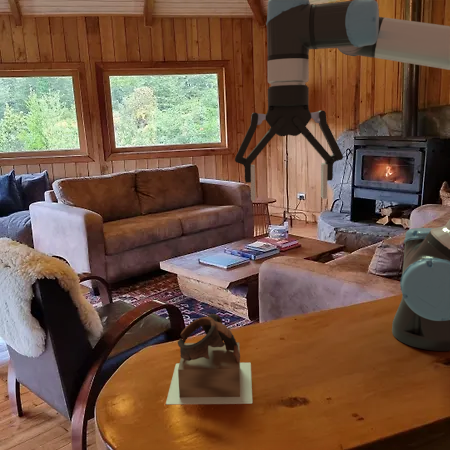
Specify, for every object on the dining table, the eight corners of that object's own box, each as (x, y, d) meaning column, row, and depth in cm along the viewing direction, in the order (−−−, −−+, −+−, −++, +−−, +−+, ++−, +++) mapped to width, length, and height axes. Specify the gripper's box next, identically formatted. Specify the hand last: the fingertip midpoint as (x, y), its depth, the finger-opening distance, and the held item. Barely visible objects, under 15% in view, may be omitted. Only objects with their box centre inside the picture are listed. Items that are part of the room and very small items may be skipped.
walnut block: (240, 367, 96) (239, 342, 95) (240, 396, 86) (239, 368, 85) (185, 368, 96) (184, 343, 95) (179, 397, 86) (178, 369, 85)
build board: (250, 369, 98) (250, 362, 98) (252, 411, 84) (252, 403, 84) (176, 370, 98) (176, 363, 98) (166, 412, 85) (165, 404, 84)
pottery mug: (244, 374, 84) (219, 338, 81) (194, 394, 87) (167, 360, 83) (244, 327, 95) (222, 293, 92) (200, 346, 97) (176, 314, 94)
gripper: (351, 83, 100) (349, 193, 104) (221, 87, 100) (224, 197, 105) (360, 81, 92) (357, 200, 97) (219, 85, 93) (223, 203, 98)
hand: (288, 198), depth 101 cm, fingers open, 13 cm apart
